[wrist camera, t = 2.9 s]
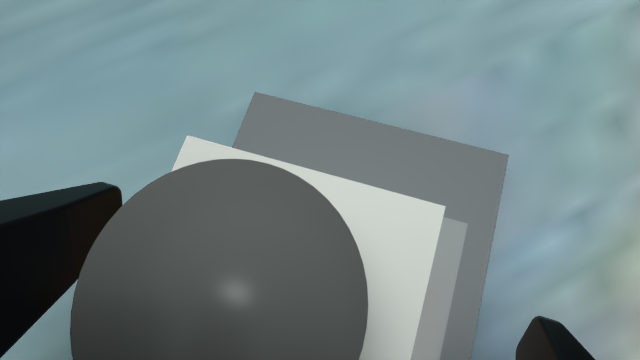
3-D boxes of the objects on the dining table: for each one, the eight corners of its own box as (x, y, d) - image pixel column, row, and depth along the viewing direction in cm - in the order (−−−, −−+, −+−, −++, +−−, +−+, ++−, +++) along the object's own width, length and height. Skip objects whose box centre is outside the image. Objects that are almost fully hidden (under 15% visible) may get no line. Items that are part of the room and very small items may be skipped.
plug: (366, 408, 14) (444, 849, 2) (231, 359, 15) (-191, 515, 3) (401, 265, 15) (558, 117, 4) (277, 227, 16) (98, 11, 5)
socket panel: (410, 623, 13) (441, 780, 8) (105, 488, 14) (3, 561, 10) (499, 163, 17) (549, 114, 13) (259, 103, 19) (233, 41, 15)
